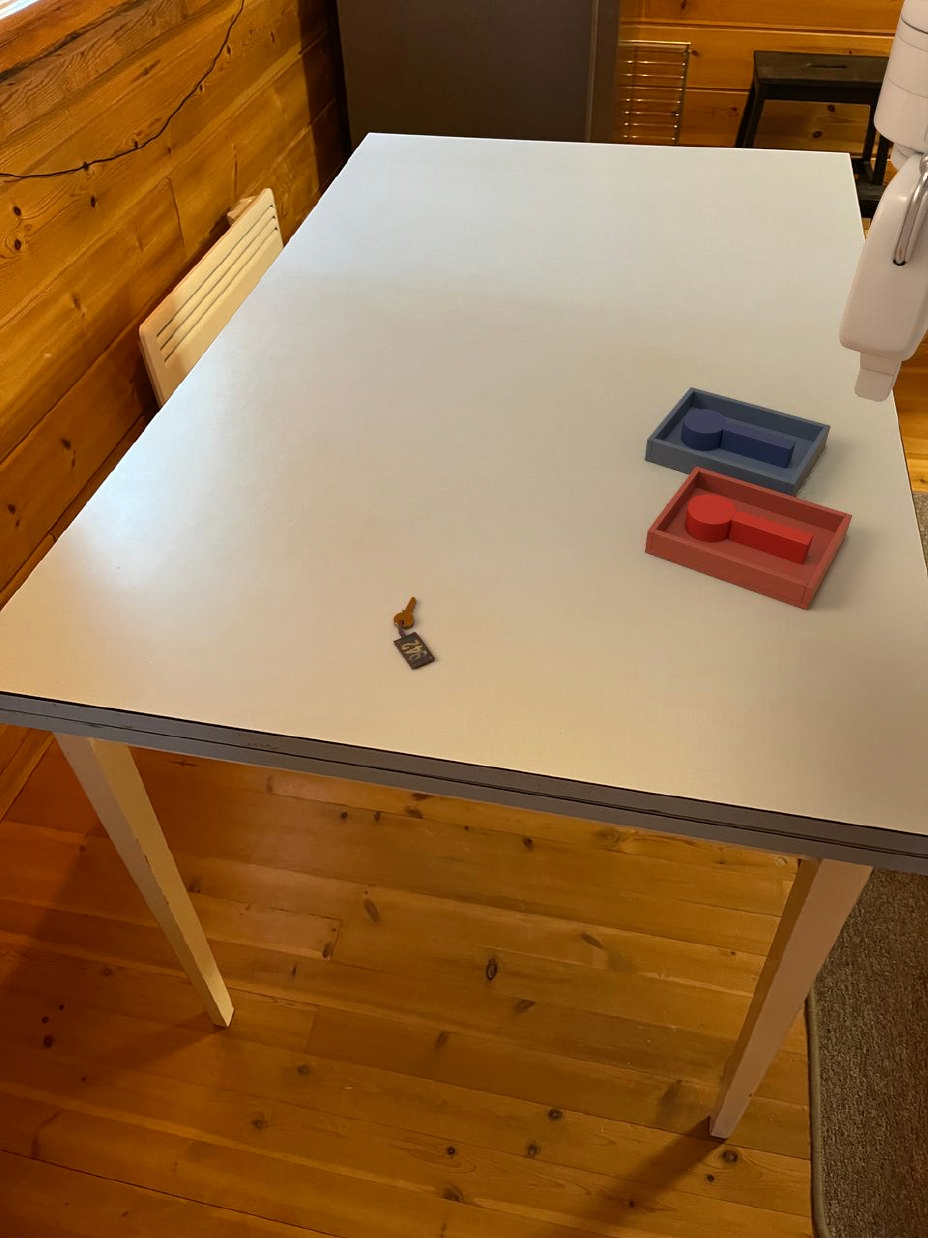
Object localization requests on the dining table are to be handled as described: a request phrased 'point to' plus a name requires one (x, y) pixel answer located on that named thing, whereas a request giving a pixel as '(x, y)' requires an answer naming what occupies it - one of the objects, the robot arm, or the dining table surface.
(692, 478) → the red tray
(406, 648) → the key tag
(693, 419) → the blue spoon
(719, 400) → the blue tray
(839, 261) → the dining table surface
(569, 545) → the dining table surface
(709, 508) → the red spoon
